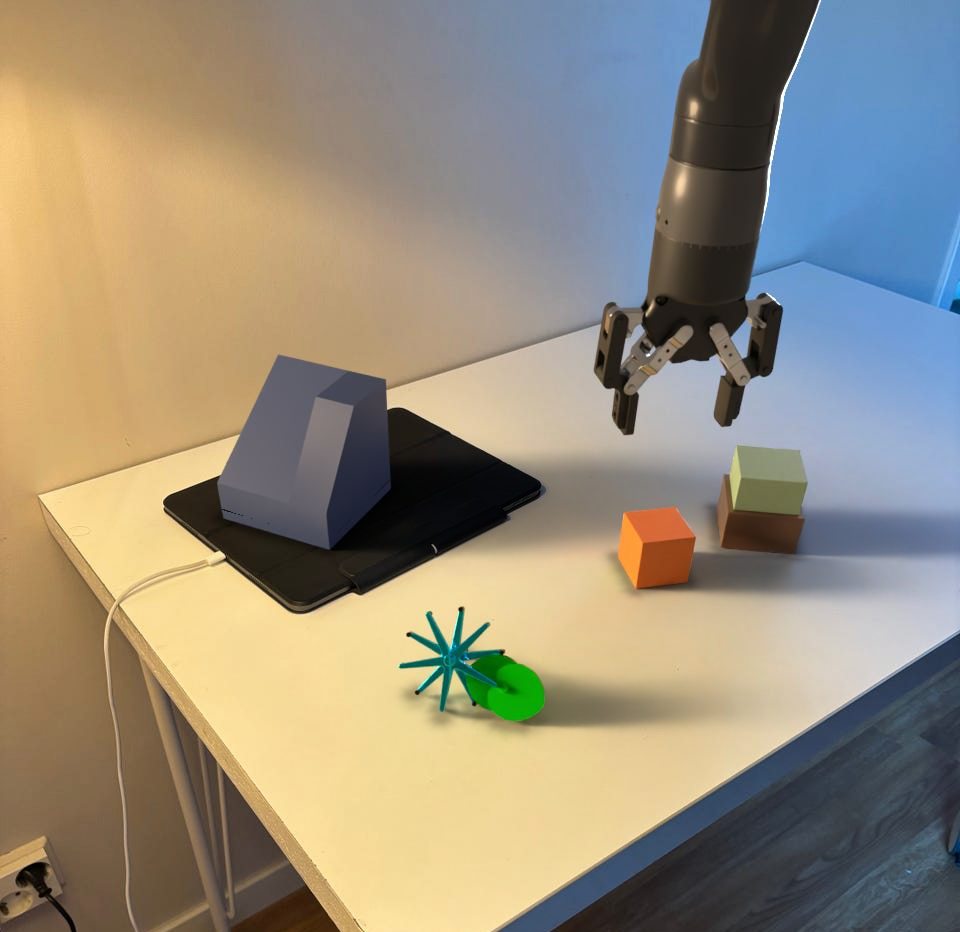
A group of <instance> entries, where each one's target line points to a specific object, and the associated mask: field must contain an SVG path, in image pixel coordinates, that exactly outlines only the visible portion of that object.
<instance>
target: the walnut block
mask: <svg viewBox="0 0 960 932" xmlns="http://www.w3.org/2000/svg"><path fill="white" fill-rule="evenodd" d="M729 476H730V473H724V474H723V476H722V481H721V485H720V490H719V494H718V499H717V500H718V501H717V504H716V515H717V523H718V533H719V544H720V548H722V549H732V550H743V551H745V550H746V551H754V552H764V553H765V552H767V553H776V554H777V553H778V554H787V555H788V554H790V555H796V553H797V550H798V546H799V542H800V539H801V535H802V532H803V528H804V524H805V520H806V518H805V513H804V509H803V505H802V506H801V510H800V514H799V515H789V514H778V513H766V512H754V511H742V510H734V509H733V501H732V493H731V485H730V477H729Z"/></svg>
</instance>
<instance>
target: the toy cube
mask: <svg viewBox="0 0 960 932" xmlns="http://www.w3.org/2000/svg"><path fill="white" fill-rule="evenodd" d="M621 524H622V525H621V530H620V531H621V533H620V538H619V546H618V547H619V548H618V552H617V553H618V554H617V558H618V560H619V562H620V564H621V566H622V567H623V569H624V571H625V572H626V574H627V576H628V578H629V579H630V582H631V583H632V585H633V586H634V588H635V589H636V590H637V589H645V588H653V587H660V586H668V585H676V584H677V585H678V584H685V583H688V581H689V577H690V571H691V566H692V561H693V560H692V559H693V555H694V551H695V546H696V540H697V535H695V533H694V532H693V530H692V529H691V527H690V526H689V524H688V523H687V521H686V520H685V518H684V517H683V516H682V514H681V513H680V511H679V510H678V508H677V507H676V506H668V507H660V508H652V509H643V510H642V509H641V510H633V511H624V512H623V517H622V523H621Z"/></svg>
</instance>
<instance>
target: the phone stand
mask: <svg viewBox="0 0 960 932" xmlns="http://www.w3.org/2000/svg"><path fill="white" fill-rule="evenodd" d="M387 395H388V393H387V379H386V378H383V377H377V376H374V375H369V374H364V373H361V372H357V371H351V370H347V369H343V368H339V367H334V366H331V365H326V364H321V363H318V362H313V361H309V360H304V359H300V358H297V357H296V358H295V357H291V356H286V355H282V354H277V355H276V358H275V360H274V362H273V364H272V366H271V368H270V371H269V373H268V374H267V377H266V379H265V381H264V383H263V386H262V387H261V390H260V392H259V394H258V396H257V398H256V400H255V402H254V404H253V406H252V408H251V410H250V412H249V415H248V417H247V419H246V421H245V423H244V425H243V427H242V430H241V431H240V434H239V436H238V438H237V439H236V442H235V444H234V446H233V448H232V451H231V453H230V454H229V457H228V459H227V460H226V463H225V465H224V467H223V469H222V471H221V473H220V475H219V478H218V480H217V482H216V484H217V485H216V486H217V490H218V497H219V502H220V508H221V513H222V518H223V519H224V520H228V521H231V522H233V523H234V522H235V523H237V524H241V525H244V526H248V527H251V528H254V529H258V530H261V531H265V532H267V533H271V534H275V535H278V536H282V537H285V538H288V539H291V540H294V541H298V542H302V543H305V544H309V545H312V546H315V547H319V548H322V549H324V550H329V551H330V550H331V549H332V548H333V547H335V545H336V544H337V543H338V542H339V541H340V540H341V539H342V538H343V537H344V536H345V535H346V534H347V533H348V532H349V531H350V530H351V529H352V528H353V527H354V526H355V525H356V524H357V523H358V522H359V521H360V520H361V519H362V518H364V516H366V514H367V513H368V512H369V511H370V510H372V508H373V507H374V506H376V504H377V503H378V502H379V501H380V500H381V499H382V498H383V497H384V496H385V495H387V493H388V492H389V491H391V488H392V482H391V461H390V460H391V459H390V440H389V439H390V438H389V419H388V418H389V414H388V396H387ZM389 479H390V481H389V482H388V483H387V481H388V480H389ZM385 483H387V484H386V485H385ZM384 485H385V486H384ZM383 486H384V487H383ZM382 487H383V488H382ZM381 488H382V489H381ZM380 489H381V490H380ZM379 490H380V491H379ZM378 491H379V492H378ZM377 492H378V493H377ZM376 493H377V494H376ZM375 494H376V495H375ZM374 495H375V496H374ZM362 507H363V508H362ZM222 509H225V510H228V511H231V512H233V513H231V512H227V511H224V510H222ZM234 513H236V514H234ZM238 514H240V515H238ZM241 515H243V516H241ZM251 518H252V519H251ZM351 518H352V519H351ZM349 520H350V521H349ZM348 521H349V522H348ZM268 523H269V524H268ZM346 523H347V524H346ZM345 524H346V525H345ZM343 526H344V527H343ZM342 527H343V528H342ZM341 528H342V529H341ZM340 529H341V530H340ZM339 530H340V531H339ZM338 531H339V532H338ZM337 532H338V533H337ZM329 540H330V541H329Z"/></svg>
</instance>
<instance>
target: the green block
mask: <svg viewBox="0 0 960 932" xmlns="http://www.w3.org/2000/svg"><path fill="white" fill-rule="evenodd" d="M729 474H730V476H729V477H730V485H731V493H732V501H733V509H734V510H742V511H754V512H766V513H778V514H789V515H799V514H800V510H801V506H802V507H803V502H804V498H805V495H806V492H807V489H808V488H807V487H808V484H809V483H808V478H807V474H806V470H805V465H804V461H803V457H802V454H801V450H800V449H792V448H791V449H790V448H778V447H765V446H754V445H753V446H752V445H739V444H736V445H735V449H734V453H733V458H732V462H731V467H730V472H729Z"/></svg>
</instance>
